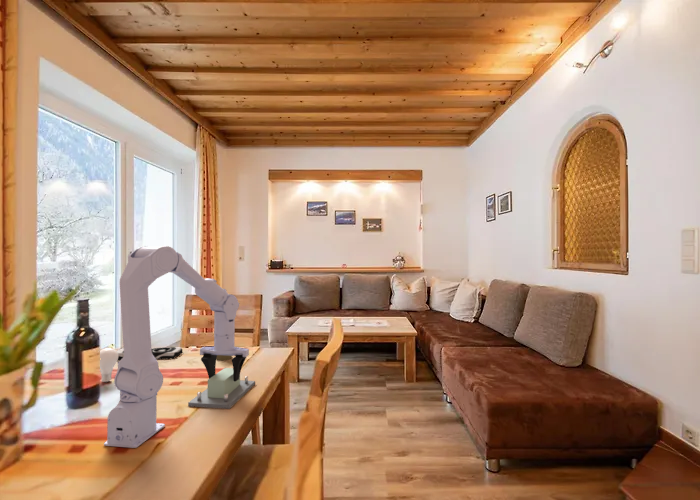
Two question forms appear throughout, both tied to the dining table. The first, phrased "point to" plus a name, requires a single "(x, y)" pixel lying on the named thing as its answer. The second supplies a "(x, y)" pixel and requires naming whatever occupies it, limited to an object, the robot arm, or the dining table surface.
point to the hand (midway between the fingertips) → (224, 379)
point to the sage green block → (222, 383)
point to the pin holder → (225, 402)
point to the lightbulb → (107, 363)
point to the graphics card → (158, 352)
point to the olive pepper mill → (223, 357)
